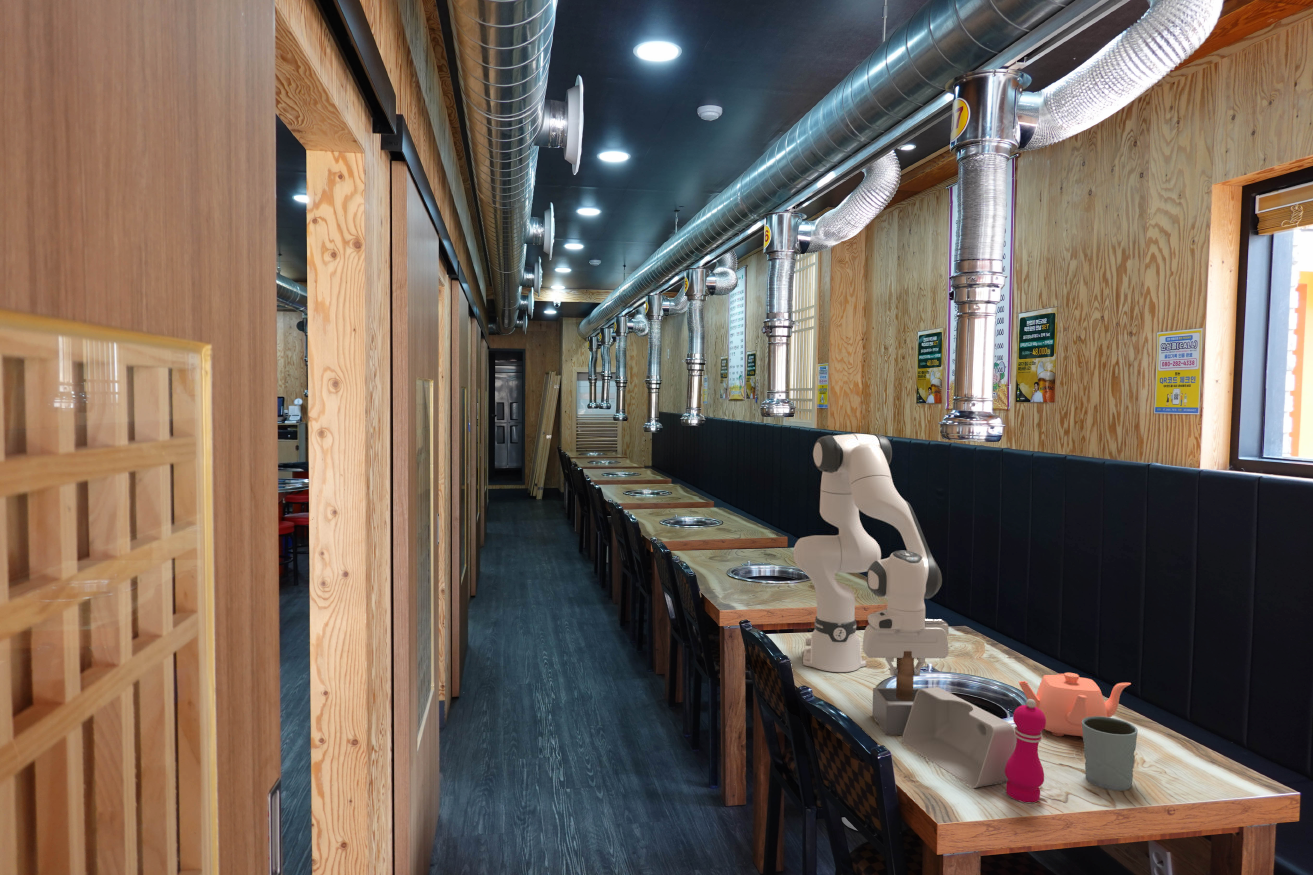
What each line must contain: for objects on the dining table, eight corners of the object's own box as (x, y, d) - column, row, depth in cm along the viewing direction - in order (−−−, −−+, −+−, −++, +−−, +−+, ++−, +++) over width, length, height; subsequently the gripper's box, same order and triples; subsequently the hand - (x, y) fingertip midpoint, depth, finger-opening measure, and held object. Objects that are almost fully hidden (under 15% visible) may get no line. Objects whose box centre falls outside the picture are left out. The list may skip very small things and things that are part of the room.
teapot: (1130, 736, 196) (1132, 679, 195) (1082, 752, 186) (1085, 692, 186) (1059, 711, 211) (1061, 658, 211) (1012, 724, 202) (1014, 669, 201)
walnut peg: (893, 694, 203) (894, 646, 202) (910, 694, 203) (911, 646, 202) (898, 700, 199) (899, 651, 198) (915, 700, 199) (916, 651, 198)
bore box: (872, 715, 207) (873, 687, 207) (920, 715, 207) (920, 688, 207) (885, 734, 195) (886, 705, 195) (936, 734, 195) (937, 705, 195)
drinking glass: (1147, 790, 168) (1149, 732, 168) (1104, 794, 166) (1106, 736, 166) (1110, 768, 178) (1111, 713, 178) (1069, 772, 176) (1071, 717, 176)
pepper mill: (1043, 807, 161) (1052, 709, 159) (1003, 798, 164) (1011, 702, 161) (1041, 790, 167) (1050, 695, 165) (1002, 781, 170) (1011, 689, 168)
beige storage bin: (1037, 779, 173) (1039, 720, 173) (976, 790, 168) (977, 730, 167) (956, 733, 197) (958, 681, 196) (900, 742, 191) (901, 689, 191)
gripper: (944, 615, 203) (942, 671, 204) (861, 615, 203) (860, 670, 204) (953, 622, 197) (952, 679, 197) (868, 621, 197) (866, 678, 197)
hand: (904, 675), depth 200 cm, fingers closed on walnut peg, 4 cm apart
